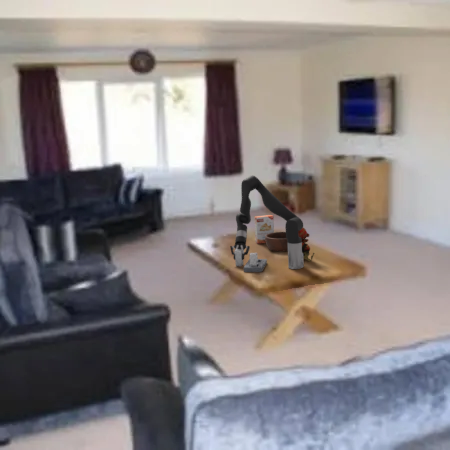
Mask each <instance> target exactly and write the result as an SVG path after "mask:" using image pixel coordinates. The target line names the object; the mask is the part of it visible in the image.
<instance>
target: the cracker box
mask: <svg viewBox="0 0 450 450" xmlns="http://www.w3.org/2000/svg"><path fill="white" fill-rule="evenodd" d="M274 221H275V220H274V215H272V214H267V215H256V216H254V238H255V240H254V242H255V243H256V244H266V240H265V236H266V235H267V234H269V233H274V232H275V229H274V227H275V226H274V225H275V223H274Z"/></svg>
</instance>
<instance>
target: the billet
mask: <svg viewBox="0 0 450 450" xmlns="http://www.w3.org/2000/svg"><path fill="white" fill-rule="evenodd" d="M234 252H235V260H234V261H235V262H234V263H235V267H244V259H243V260H242V254H243V253H242V249H236V250H235V249H234Z"/></svg>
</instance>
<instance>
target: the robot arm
mask: <svg viewBox="0 0 450 450" xmlns="http://www.w3.org/2000/svg"><path fill="white" fill-rule="evenodd" d="M240 186H241V188H240V189H241V201H240V209H239V212H238V213H237V214H236V215H235V221H236V225H237V226H236V233H235V234H236V235H235V240H234V245H230V251H231V255H232V256H233V260H234V261H235V250H236V249H242V253H243V254H242V260H243V261H244V260H245V256H247V255H248V254H249V251H250V249H251V248H250V245H247V236H248V235H247V234H248V226H247V225H248V224H250V223H251V221H252V217H251V208H252V207H251V206H252V201H251V199H250V193H251V192H252V191H254V190H255V191H257V192H258V193H259V194H260V196H261V201H262V203H263V205H264V207H265V208H266V209H268V211H269V212H270V213H272V214H274V215H276V216H278V217H280V218H282V219H283V220H284V221H286V222H285V229H284V230H285V232H286V238H287V241H288V251H287V259H288V261H287V262H288V269H289V270H290V269H291V270H299V269H302V268H304V267H305V265H304V262H305V261H304V259H303V253H302V239H301V237H299V235H298V231H300V230H301V229H302V228H304V223H303V220H302V219H301V218H300V217H299V216H297V215H296V214H295V213H294V212H292V211H291V210H290V209H289V208H288V207H287V206H285V204H283V203H282V202H281V201H280V200H279V198H277V196H275V195H274V194H273V193H272V192H271V191H270V190H269V189H268V188H267V187H266V186H265V185H264V184H263V183H262V182H261V180H260V179H259V178H258V177H257V176H255V175H249V176H248V177H246V178H244V179H243V180H242V181H241V185H240Z"/></svg>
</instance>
